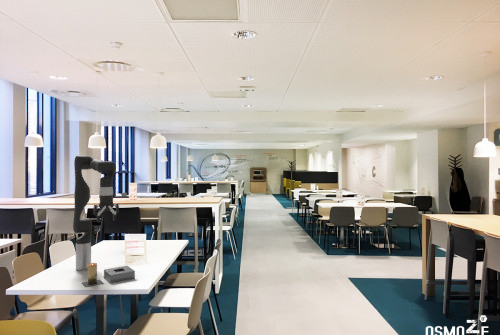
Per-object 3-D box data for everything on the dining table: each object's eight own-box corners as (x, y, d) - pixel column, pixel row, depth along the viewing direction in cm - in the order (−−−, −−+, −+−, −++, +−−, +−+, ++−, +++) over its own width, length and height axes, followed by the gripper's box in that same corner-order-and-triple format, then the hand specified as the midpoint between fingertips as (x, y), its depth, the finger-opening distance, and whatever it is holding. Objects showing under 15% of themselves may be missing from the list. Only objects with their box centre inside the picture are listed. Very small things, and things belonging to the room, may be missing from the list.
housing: (103, 277, 216) (103, 269, 216) (127, 273, 224) (127, 265, 224) (110, 283, 204) (110, 275, 204) (134, 279, 213) (134, 270, 213)
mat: (81, 283, 206) (81, 282, 206) (99, 279, 211) (99, 279, 211) (85, 288, 198) (85, 287, 198) (104, 284, 203) (104, 283, 203)
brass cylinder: (86, 282, 205) (86, 263, 205) (95, 281, 208) (95, 262, 208) (88, 285, 201) (88, 265, 201) (97, 283, 204) (97, 264, 204)
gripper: (116, 193, 222) (116, 219, 222) (92, 194, 213) (92, 221, 213) (120, 194, 216) (120, 221, 216) (95, 195, 207) (95, 223, 207)
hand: (106, 221), depth 215 cm, fingers open, 8 cm apart
